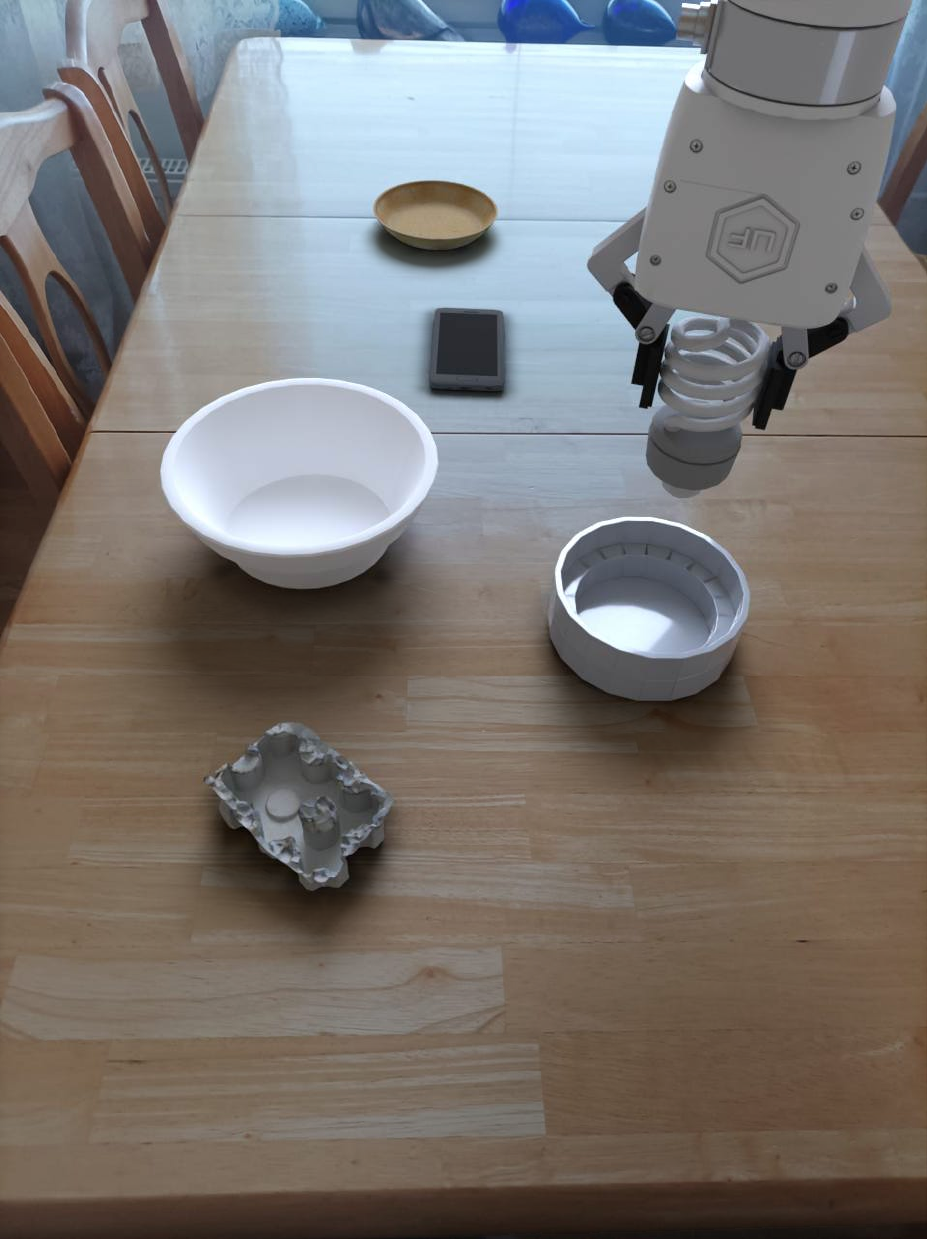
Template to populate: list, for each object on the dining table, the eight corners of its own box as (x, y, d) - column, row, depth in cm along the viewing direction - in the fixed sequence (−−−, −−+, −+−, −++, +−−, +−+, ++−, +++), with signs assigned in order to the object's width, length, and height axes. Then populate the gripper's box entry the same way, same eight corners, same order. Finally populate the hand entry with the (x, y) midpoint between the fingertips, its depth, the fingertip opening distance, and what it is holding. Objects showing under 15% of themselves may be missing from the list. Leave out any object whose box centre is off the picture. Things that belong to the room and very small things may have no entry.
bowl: (159, 484, 81) (137, 405, 75) (389, 433, 87) (387, 357, 80) (210, 663, 68) (189, 586, 62) (476, 590, 74) (481, 513, 68)
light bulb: (664, 536, 56) (710, 361, 47) (616, 479, 59) (651, 305, 50) (742, 511, 57) (802, 338, 48) (691, 457, 61) (738, 285, 52)
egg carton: (204, 808, 61) (192, 775, 58) (291, 736, 64) (284, 701, 61) (319, 913, 56) (312, 882, 53) (404, 828, 60) (403, 795, 57)
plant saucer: (504, 208, 117) (506, 187, 115) (486, 266, 107) (487, 244, 105) (389, 194, 118) (389, 173, 116) (360, 251, 109) (359, 229, 107)
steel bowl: (759, 617, 73) (780, 568, 69) (680, 738, 65) (697, 691, 61) (603, 542, 78) (614, 492, 74) (512, 646, 70) (518, 597, 66)
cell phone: (429, 389, 91) (429, 382, 91) (434, 312, 100) (434, 306, 100) (504, 392, 91) (504, 385, 91) (503, 315, 100) (503, 308, 100)
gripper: (583, 53, 38) (541, 416, 52) (1025, 109, 36) (859, 475, 49) (611, -1, 43) (566, 344, 57) (1003, 45, 41) (857, 394, 54)
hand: (703, 402), depth 53 cm, fingers closed on light bulb, 5 cm apart
